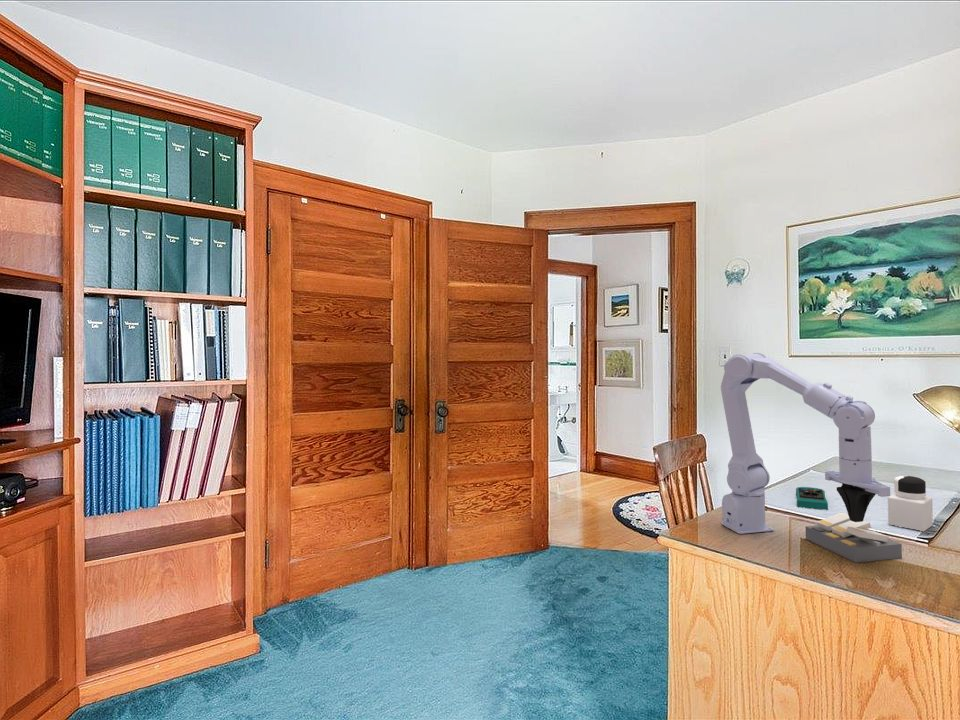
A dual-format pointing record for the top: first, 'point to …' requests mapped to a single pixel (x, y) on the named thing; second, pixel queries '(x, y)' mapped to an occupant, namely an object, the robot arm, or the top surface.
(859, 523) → the rocker
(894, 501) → the medicine bottle
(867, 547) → the switch unit
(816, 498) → the digital multimeter
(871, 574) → the top surface
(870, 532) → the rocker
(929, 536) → the top surface
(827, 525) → the rocker
